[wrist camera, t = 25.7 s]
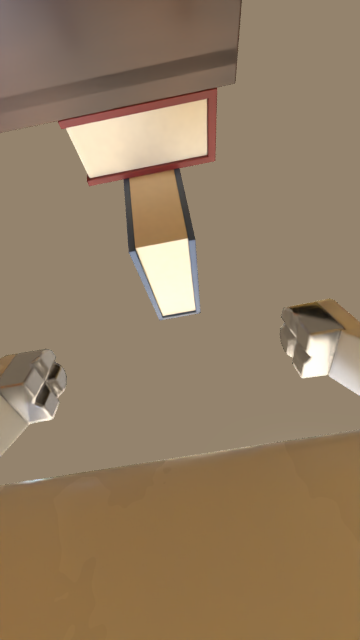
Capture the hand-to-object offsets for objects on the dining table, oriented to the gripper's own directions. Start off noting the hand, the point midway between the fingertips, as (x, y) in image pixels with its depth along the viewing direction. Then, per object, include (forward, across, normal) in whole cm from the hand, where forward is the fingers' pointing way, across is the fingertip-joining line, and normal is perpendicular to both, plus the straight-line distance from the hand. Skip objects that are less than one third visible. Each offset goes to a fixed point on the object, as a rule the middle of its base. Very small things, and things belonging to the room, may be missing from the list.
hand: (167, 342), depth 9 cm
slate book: (+16, 0, -6) cm, 17 cm away
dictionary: (+16, 0, -11) cm, 20 cm away
